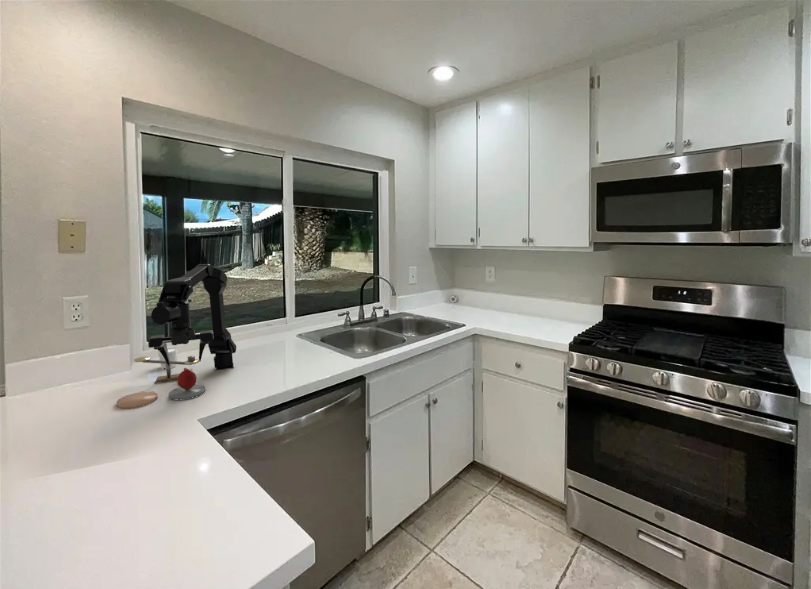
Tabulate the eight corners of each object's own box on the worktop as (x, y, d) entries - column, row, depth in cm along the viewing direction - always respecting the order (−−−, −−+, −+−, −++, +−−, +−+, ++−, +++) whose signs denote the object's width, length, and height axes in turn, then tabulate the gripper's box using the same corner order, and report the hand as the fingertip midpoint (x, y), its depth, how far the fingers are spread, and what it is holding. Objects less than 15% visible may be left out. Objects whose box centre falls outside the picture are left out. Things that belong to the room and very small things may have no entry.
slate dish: (206, 385, 142) (206, 382, 141) (205, 396, 132) (204, 393, 131) (171, 390, 137) (171, 387, 137) (167, 402, 127) (166, 399, 127)
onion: (192, 385, 138) (190, 363, 137) (200, 389, 135) (199, 367, 134) (174, 390, 133) (173, 368, 132) (183, 394, 130) (181, 371, 129)
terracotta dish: (159, 392, 136) (159, 389, 135) (154, 404, 126) (154, 401, 125) (121, 398, 131) (121, 394, 131) (112, 411, 121) (112, 407, 121)
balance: (200, 373, 154) (198, 350, 153) (199, 377, 150) (197, 353, 148) (138, 381, 146) (135, 357, 145) (135, 386, 141) (132, 361, 140)
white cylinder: (170, 370, 159) (168, 353, 158) (155, 369, 160) (153, 352, 159) (182, 364, 166) (181, 348, 164) (168, 363, 167) (167, 347, 166)
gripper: (142, 325, 119) (147, 374, 121) (210, 319, 127) (214, 366, 129) (148, 318, 129) (153, 364, 132) (211, 313, 137) (215, 357, 139)
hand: (184, 363), depth 133 cm, fingers open, 9 cm apart
